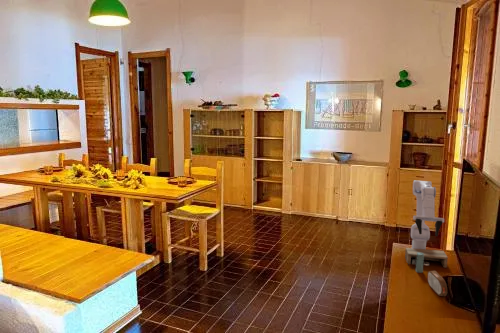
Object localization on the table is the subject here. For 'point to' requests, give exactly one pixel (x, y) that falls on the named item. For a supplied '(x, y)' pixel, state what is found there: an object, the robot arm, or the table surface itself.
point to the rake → (419, 262)
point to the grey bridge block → (427, 255)
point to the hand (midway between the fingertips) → (428, 234)
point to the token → (426, 263)
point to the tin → (437, 283)
